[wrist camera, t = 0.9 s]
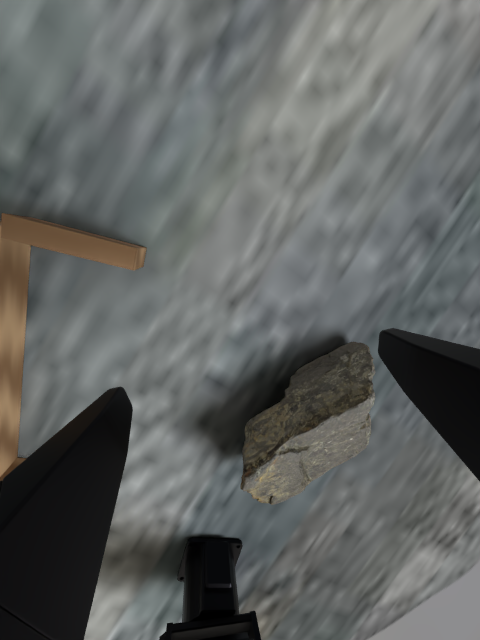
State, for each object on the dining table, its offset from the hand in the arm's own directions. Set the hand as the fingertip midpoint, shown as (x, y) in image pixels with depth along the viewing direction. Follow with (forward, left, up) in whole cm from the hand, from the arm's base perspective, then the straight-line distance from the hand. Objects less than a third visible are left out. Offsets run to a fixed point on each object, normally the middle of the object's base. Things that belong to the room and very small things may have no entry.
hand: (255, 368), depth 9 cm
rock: (-9, -10, -14) cm, 20 cm away
